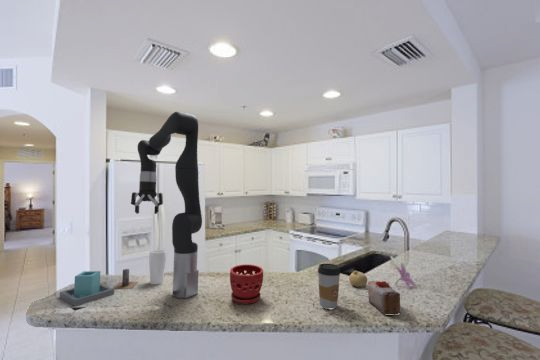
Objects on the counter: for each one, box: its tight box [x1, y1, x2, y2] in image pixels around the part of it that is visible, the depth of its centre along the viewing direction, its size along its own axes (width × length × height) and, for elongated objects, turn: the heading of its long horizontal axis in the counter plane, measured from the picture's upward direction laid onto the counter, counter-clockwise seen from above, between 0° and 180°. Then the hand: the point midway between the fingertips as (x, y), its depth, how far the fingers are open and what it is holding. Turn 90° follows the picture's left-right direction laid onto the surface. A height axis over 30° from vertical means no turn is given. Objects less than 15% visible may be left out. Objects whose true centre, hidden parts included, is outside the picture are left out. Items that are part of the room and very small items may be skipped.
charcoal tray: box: [59, 282, 115, 312], centre depth 100 cm, size 13×13×4 cm
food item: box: [367, 280, 401, 315], centre depth 100 cm, size 14×8×10 cm, turn 7°
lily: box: [395, 262, 417, 291], centre depth 123 cm, size 12×12×10 cm
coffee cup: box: [317, 263, 341, 309], centre depth 100 cm, size 8×8×15 cm
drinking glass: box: [148, 249, 167, 285], centre depth 117 cm, size 7×7×15 cm
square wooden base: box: [112, 268, 139, 290], centre depth 112 cm, size 8×8×8 cm
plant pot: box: [229, 264, 264, 305], centre depth 104 cm, size 13×13×12 cm
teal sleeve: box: [73, 270, 101, 298], centre depth 100 cm, size 6×8×9 cm
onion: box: [348, 270, 368, 288], centre depth 122 cm, size 8×8×7 cm
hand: (146, 213), depth 131 cm, fingers open, 8 cm apart
